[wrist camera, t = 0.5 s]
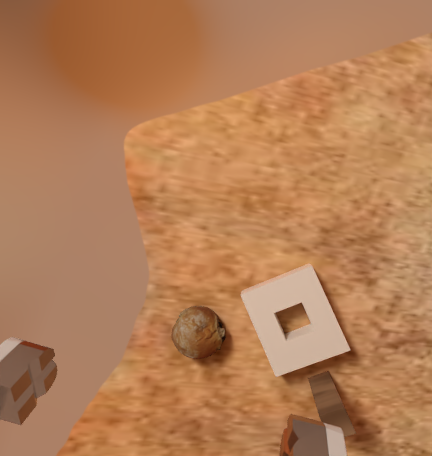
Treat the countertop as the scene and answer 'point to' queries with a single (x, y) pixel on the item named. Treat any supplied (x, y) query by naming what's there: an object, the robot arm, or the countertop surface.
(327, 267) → the countertop surface
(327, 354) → the socket block
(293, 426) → the robot arm
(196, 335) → the bread roll
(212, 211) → the countertop surface
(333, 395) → the walnut peg
